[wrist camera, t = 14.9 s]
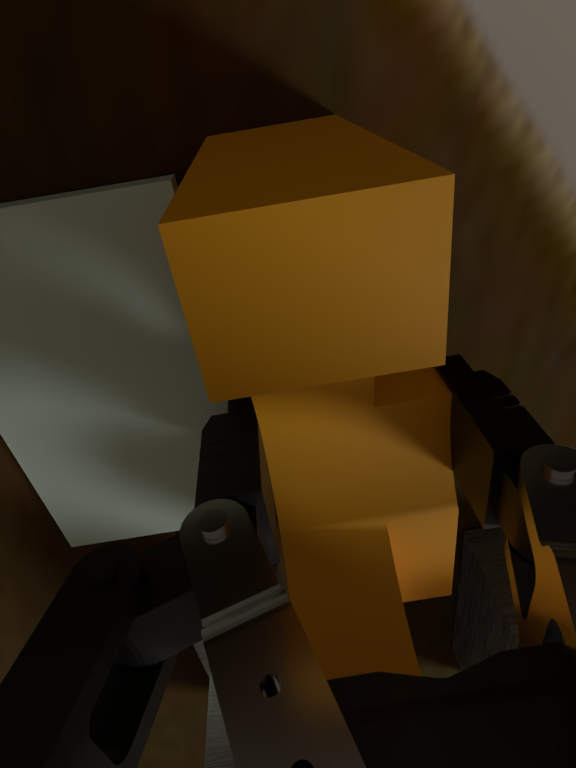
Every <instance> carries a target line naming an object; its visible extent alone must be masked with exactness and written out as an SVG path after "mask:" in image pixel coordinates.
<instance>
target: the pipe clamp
mask: <svg viewBox="0 0 576 768" xmlns="http://www.w3.org/2000/svg"><path fill="white" fill-rule="evenodd" d="M454 182H455V174H454V173H452V172H450V171H448V170H446V169H444V168H442V167H440V166H438V165H436V164H434V163H432V162H430V161H428V160H426V159H424V158H422V157H420V156H418V155H416V154H414V153H412V152H410V151H408V150H406V149H403V148H401V147H399V146H397V145H395V144H393V143H391V142H389V141H387V140H385V139H383V138H381V137H379V136H377V135H375V134H373V133H371V132H369V131H367V130H365V129H363V128H361V127H359V126H357V125H355V124H353V123H351V122H349V121H347V120H345V119H343V118H341V117H339V116H337V115H335V114H334V115H328V116H323V117H317V118H311V119H305V120H299V121H294V122H288V123H282V124H276V125H270V126H265V127H259V128H253V129H247V130H241V131H236V132H230V133H224V134H218V135H212V136H207V137H206V139H205V141H204V142H203V144H202V146H201V148H200V150H199V151H198V153H197V155H196V157H195V158H194V160H193V162H192V164H191V166H190V167H189V169H188V171H187V173H186V174H185V176H184V178H183V180H182V182H181V183H180V185H179V187H178V189H177V191H176V192H175V194H174V196H173V198H172V199H171V201H170V203H169V205H168V207H167V208H166V210H165V212H164V214H163V215H162V217H161V219H160V221H159V223H158V228H159V231H160V235H161V238H162V241H163V245H164V248H165V252H166V255H167V258H168V262H169V265H170V269H171V272H172V275H173V279H174V282H175V286H176V289H177V292H178V296H179V299H180V303H181V306H182V309H183V313H184V316H185V320H186V323H187V326H188V330H189V333H190V337H191V340H192V343H193V347H194V350H195V354H196V357H197V360H198V364H199V367H200V370H201V374H202V377H203V381H204V384H205V387H206V391H207V394H208V398H209V401H210V403H214V402H221V401H227V400H233V399H239V398H245V397H251V399H252V402H253V405H254V409H255V413H256V416H257V420H258V424H259V428H260V432H261V436H262V441H263V445H264V449H265V454H266V459H267V463H268V468H269V473H270V478H271V484H272V489H273V494H274V500H275V506H276V511H277V517H278V523H279V529H280V535H281V542H282V548H283V555H284V561H285V568H286V575H287V582H288V589H289V597H290V601H291V603H292V605H293V607H294V609H295V612H296V614H297V616H298V618H299V620H300V623H301V625H302V627H303V629H304V631H305V634H306V636H307V638H308V640H309V642H310V645H311V647H312V649H313V651H314V654H315V656H316V658H317V660H318V662H319V665H320V667H321V669H322V671H323V673H324V676H325V678H326V680H330V679H336V678H342V677H348V676H354V675H360V674H366V673H372V672H387V673H396V674H405V675H414V676H421V672H420V669H419V665H418V661H417V657H416V654H415V650H414V646H413V642H412V638H411V634H410V630H409V626H408V622H407V618H406V614H405V610H404V605H403V602H409V601H415V600H422V599H428V598H435V597H441V596H448V595H451V594H452V583H453V571H454V560H455V548H456V537H457V525H458V514H459V510H458V504H457V498H456V491H455V484H454V475H453V470H452V459H451V442H450V415H451V401H452V394H451V392H450V391H449V389H448V387H447V386H446V384H445V383H444V381H443V380H442V378H441V377H440V375H439V374H438V372H437V371H436V369H435V368H434V367H435V366H442V365H445V360H446V340H447V320H448V301H449V281H450V261H451V241H452V221H453V201H454Z"/></svg>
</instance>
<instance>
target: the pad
mask: <svg viewBox="0 0 576 768" xmlns="http://www.w3.org/2000/svg"><path fill="white" fill-rule="evenodd" d="M177 189H178V186H177V182H176V178H175V174H172V175H167V176H161V177H155V178H149V179H143V180H137V181H131V182H125V183H119V184H113V185H107V186H101V187H95V188H89V189H83V190H77V191H71V192H65V193H59V194H53V195H47V196H41V197H35V198H29V199H24V200H18V201H12V202H6V203H0V434H1V436H2V437H3V439H4V441H5V442H6V444H7V445H8V447H9V448H10V450H11V452H12V453H13V455H14V456H15V458H16V460H17V461H18V463H19V464H20V466H21V468H22V469H23V471H24V472H25V474H26V475H27V477H28V479H29V480H30V482H31V483H32V485H33V487H34V488H35V490H36V491H37V493H38V495H39V496H40V498H41V499H42V501H43V502H44V504H45V506H46V507H47V509H48V510H49V512H50V514H51V515H52V517H53V518H54V520H55V522H56V523H57V525H58V526H59V528H60V529H61V531H62V533H63V534H64V536H65V537H66V539H67V541H68V542H69V544H70V545H71V547H76V546H82V545H89V544H95V543H102V542H108V541H114V540H121V539H127V538H134V537H140V536H147V535H153V534H159V533H166V532H172V531H179V530H180V527H181V525H182V522H183V520H184V519H185V518H186V516H187V515H188V514H189V513H190V512H191V511H192V510H193V509H194V506H195V496H196V486H197V476H198V465H199V461H200V458H199V455H200V448H201V435H202V429H203V428H204V426H205V425H206V423H207V422H208V420H209V419H210V417H211V416H213V415H219V414H225V413H228V400H227V401H221V402H214V403H210V401H209V398H208V394H207V391H206V387H205V384H204V381H203V377H202V374H201V370H200V367H199V364H198V360H197V357H196V354H195V350H194V347H193V343H192V340H191V337H190V333H189V330H188V326H187V323H186V320H185V316H184V313H183V309H182V306H181V303H180V299H179V296H178V292H177V289H176V286H175V282H174V279H173V275H172V272H171V269H170V265H169V262H168V258H167V255H166V252H165V248H164V245H163V241H162V238H161V235H160V231H159V228H158V223H159V221H160V219H161V217H162V215H163V214H164V212H165V210H166V208H167V207H168V205H169V203H170V201H171V199H172V198H173V196H174V194H175V192H176V191H177Z"/></svg>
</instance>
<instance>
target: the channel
mask: <svg viewBox="0 0 576 768" xmlns="http://www.w3.org/2000/svg"><path fill="white" fill-rule="evenodd" d="M505 540H506V535H505V534H504V532H503V530H502V528H501V527H495V528H489V529H483V528H477V529H470V530H464V538H463V547H462V557H461V567H460V576H459V586H458V595H457V605H456V614H455V624H454V634H453V643H452V646H453V648H454V651H455V654H456V657H457V660H458V662H459V665H460V668H461V671H463V670H465V669H467V668H469V667H471V666H473V665H475V664H477V663H479V662H481V661H483V660H485V659H487V658H489V657H491V656H493V655H495V654H497V653H499V652H501V651H505V650H511V649H517V648H519V634H518V625H517V619H516V614H515V608H514V602H513V597H512V591H511V585H510V580H509V574H508V569H507V563H506V557H505V551H504V546H505ZM270 565H271V567H272V569H273V572H274V574H275V576H276V578H277V581H278V583H279V585H280V587H281V589H282V590H283V589H284V588H283V584H282V580H281V577H280V573H279V569H278V565H277V563H276V564H270ZM193 646H194V648H195V650H196V652H197V654H198V656H199V658H200V660H201V662H202V664H203V666H204V668H205V670H206V672H207V674H208V676H209V678H210V679H209V696H208V714H207V731H206V748H205V765H204V768H236V767H235V763H234V760H233V756H232V752H231V748H230V744H229V740H228V736H227V733H226V729H225V725H224V721H223V717H222V713H221V709H220V705H219V702H218V698H217V694H216V690H215V686H214V682H213V678H212V675H211V671H210V667H209V663H208V659H207V655H206V651H205V648H204V644H203V640H201V641H199V642H197V643H196V644H194V645H193Z"/></svg>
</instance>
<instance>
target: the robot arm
mask: <svg viewBox="0 0 576 768" xmlns="http://www.w3.org/2000/svg"><path fill="white" fill-rule="evenodd" d="M434 368H435V369H436V371H437V372H438V374H439V375H440V377H441V378H442V380H443V381H444V383H445V384H446V386H447V387H448V389H449V391H450V392H451V394H452V401H451V415H450V442H451V459H452V470H453V473H454V475H455V476H456V478H457V480H458V482H459V484H460V486H461V488H462V490H463V492H464V493H465V495H466V497H467V499H468V501H469V503H470V505H471V507H472V508H473V510H474V512H475V514H476V516H477V518H478V520H479V522H480V523H481V525H482V527H483V529H489V528H495V527H501V528H502V530H503V532H504V534H505V535H506V540H505V546H504V551H505V557H506V563H507V569H508V574H509V580H510V585H511V591H512V597H513V602H514V608H515V614H516V619H517V625H518V634H519V648H517V649H511V650H505V651H501V652H499V653H497V654H495V655H493V656H491V657H489V658H487V659H485V660H483V661H481V662H479V663H477V664H475V665H473V666H471V667H469V668H467V669H465V670H463V671H461V672H459V673H457V674H455V675H453V676H451V677H448V678H431V677H422V676H414V675H405V674H396V673H387V672H372V673H366V674H360V675H354V676H348V677H342V678H336V679H330V680H326V678H325V676H324V673H323V671H322V669H321V667H320V665H319V662H318V660H317V658H316V656H315V654H314V651H313V649H312V647H311V645H310V642H309V640H308V638H307V636H306V634H305V631H304V629H303V627H302V625H301V623H300V620H299V618H298V616H297V614H296V612H295V609H294V607H293V605H292V603H291V601H290V599H289V597H288V595H287V593H286V591H285V590H284V589H283V590H282V589H281V587H280V585H279V583H278V581H277V578H276V576H275V574H274V572H273V569H272V567H271V565H270V564H276V563H280V559H279V547H278V535H277V524H276V512H275V501H274V494H273V489H272V484H271V478H270V473H269V468H268V463H267V459H266V454H265V449H264V445H263V441H262V436H261V432H260V428H259V424H258V420H257V416H256V413H255V409H254V405H253V402H252V399H251V397H245V398H239V399H233V400H228V413H225V414H219V415H213V416H211V417H210V419H209V420H208V422H207V423H206V425H205V426H204V428H203V429H202V435H201V448H200V455H199V458H200V461H199V465H198V476H197V486H196V496H195V506H194V509H193V510H192V511H191V512H190V513H189V514H188V515H187V516H186V518H185V519H184V520H183V522H182V525H181V527H180V532H179V533H177V534H176V535H175V536H174V537H172V538H171V539H169V540H167V541H165V542H163V543H161V544H159V545H157V546H154V547H152V548H150V549H148V550H146V551H143V552H141V553H139V554H138V553H137V551H136V550H135V549H134V548H132V547H131V546H129V545H126V544H109V545H106V546H102V547H100V548H98V549H96V550H94V551H92V552H90V553H89V554H88V555H86V556H85V557H84V558H82V559H81V560H80V561H79V562H78V563H77V564H76V566H75V567H74V568H73V570H72V571H71V572H70V574H69V576H68V577H67V579H66V580H65V582H64V584H63V585H62V587H61V588H60V590H59V592H58V593H57V595H56V596H55V598H54V600H53V601H52V603H51V604H50V606H49V608H48V609H47V611H46V612H45V614H44V616H43V617H42V619H41V620H40V622H39V624H38V625H37V627H36V628H35V630H34V632H33V633H32V635H31V636H30V638H29V640H28V641H27V643H26V644H25V646H24V648H23V649H22V651H21V652H20V654H19V656H18V657H17V659H16V660H15V662H14V664H13V665H12V667H11V668H10V670H9V672H8V673H7V675H6V676H5V678H4V680H3V681H2V683H1V684H0V768H137V766H138V763H139V760H140V758H141V755H142V752H143V749H144V747H145V744H146V741H147V739H148V736H149V733H150V730H151V728H152V725H153V722H154V719H155V717H156V714H157V711H158V709H159V706H160V703H161V700H162V698H163V695H164V692H165V689H166V687H167V684H168V681H169V679H170V676H171V673H172V670H173V668H174V665H175V662H176V659H177V657H178V654H179V652H180V651H182V650H184V649H186V648H188V647H190V646H192V645H194V644H196V643H197V642H199V641H201V640H203V644H204V648H205V651H206V655H207V659H208V663H209V667H210V671H211V675H212V678H213V682H214V686H215V690H216V694H217V698H218V702H219V705H220V709H221V713H222V717H223V721H224V725H225V729H226V733H227V736H228V740H229V744H230V748H231V752H232V756H233V760H234V763H235V767H236V768H576V450H575V449H573V448H570V447H567V446H563V445H557V444H555V443H554V442H553V441H552V440H551V439H550V437H549V436H548V435H547V434H546V433H545V431H544V430H543V429H542V428H541V427H540V425H539V424H538V423H537V422H536V421H535V420H534V418H533V417H532V416H531V415H530V414H529V412H528V411H527V410H526V409H525V408H524V406H523V407H522V406H521V403H520V402H519V401H518V399H517V398H516V397H515V396H513V395H512V392H511V391H510V390H509V389H508V388H507V386H506V385H505V384H504V383H503V382H502V380H500V379H499V378H497V377H495V376H493V375H491V374H490V373H488V372H486V371H484V370H481V371H475V372H473V370H472V369H471V368H470V366H469V365H468V364H467V363H466V361H465V360H464V359H463V357H462V356H461V355H453V356H447V357H446V360H445V365H442V366H435V367H434Z"/></svg>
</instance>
